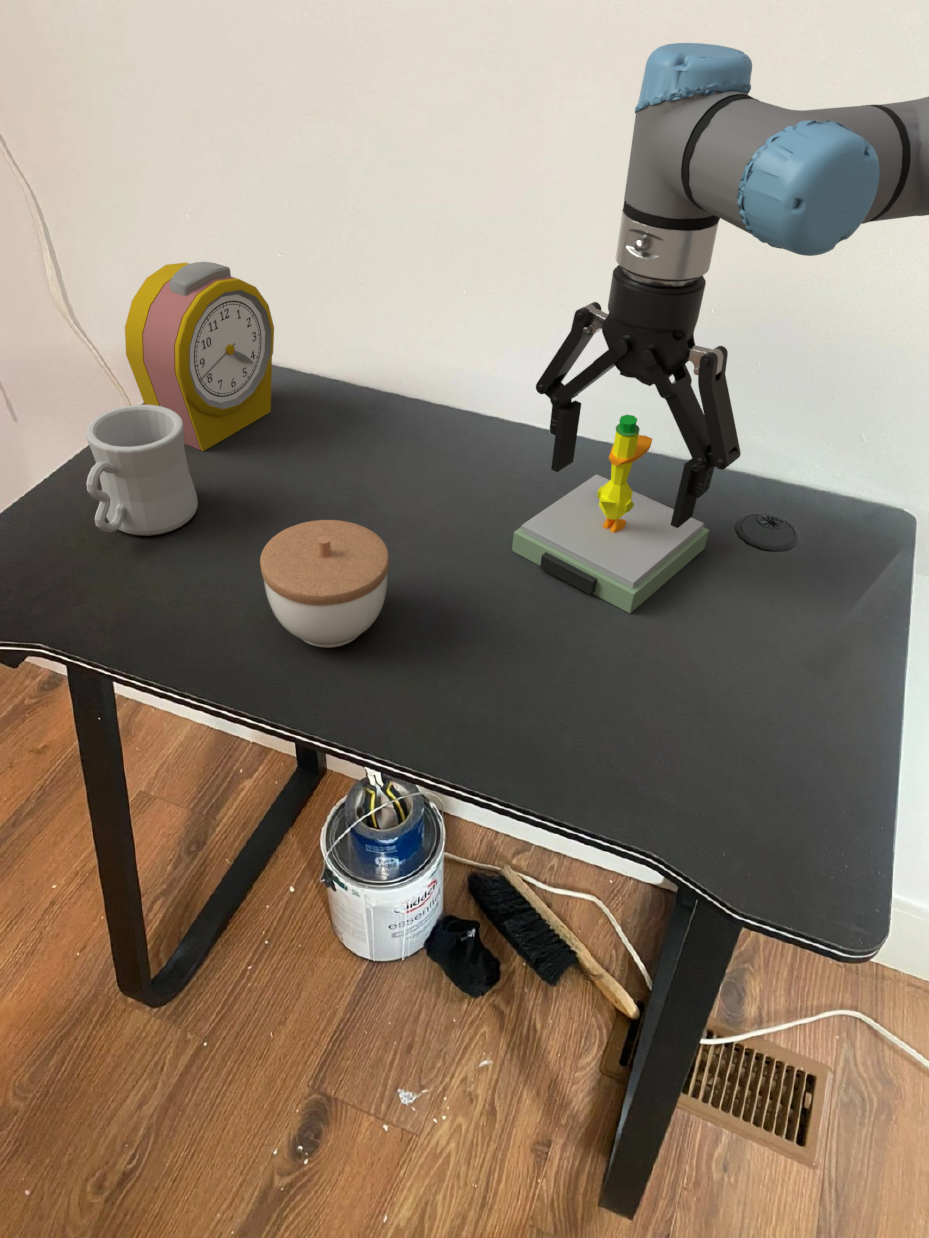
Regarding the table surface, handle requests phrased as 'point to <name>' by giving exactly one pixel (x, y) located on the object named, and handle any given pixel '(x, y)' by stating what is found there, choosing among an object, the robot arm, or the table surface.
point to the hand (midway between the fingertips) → (619, 492)
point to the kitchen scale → (609, 545)
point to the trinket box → (325, 580)
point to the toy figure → (621, 472)
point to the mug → (140, 470)
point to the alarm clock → (202, 349)
